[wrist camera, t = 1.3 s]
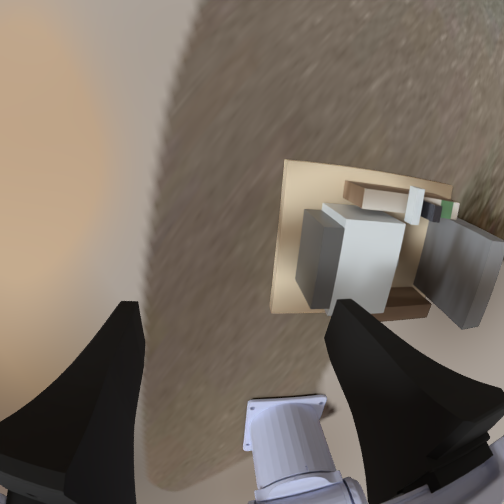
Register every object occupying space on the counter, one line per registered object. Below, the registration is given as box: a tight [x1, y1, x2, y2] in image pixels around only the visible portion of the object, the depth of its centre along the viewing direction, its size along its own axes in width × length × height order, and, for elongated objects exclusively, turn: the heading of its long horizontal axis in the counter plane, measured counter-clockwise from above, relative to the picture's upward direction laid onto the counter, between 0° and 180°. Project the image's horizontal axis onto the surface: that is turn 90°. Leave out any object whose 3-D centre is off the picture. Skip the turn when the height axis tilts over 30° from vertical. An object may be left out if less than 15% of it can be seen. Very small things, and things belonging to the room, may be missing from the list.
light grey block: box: [295, 186, 425, 316], centre depth 19 cm, size 8×6×4 cm
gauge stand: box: [270, 159, 504, 329], centre depth 19 cm, size 11×14×8 cm
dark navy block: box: [420, 199, 443, 223], centre depth 16 cm, size 1×1×2 cm, turn 175°
